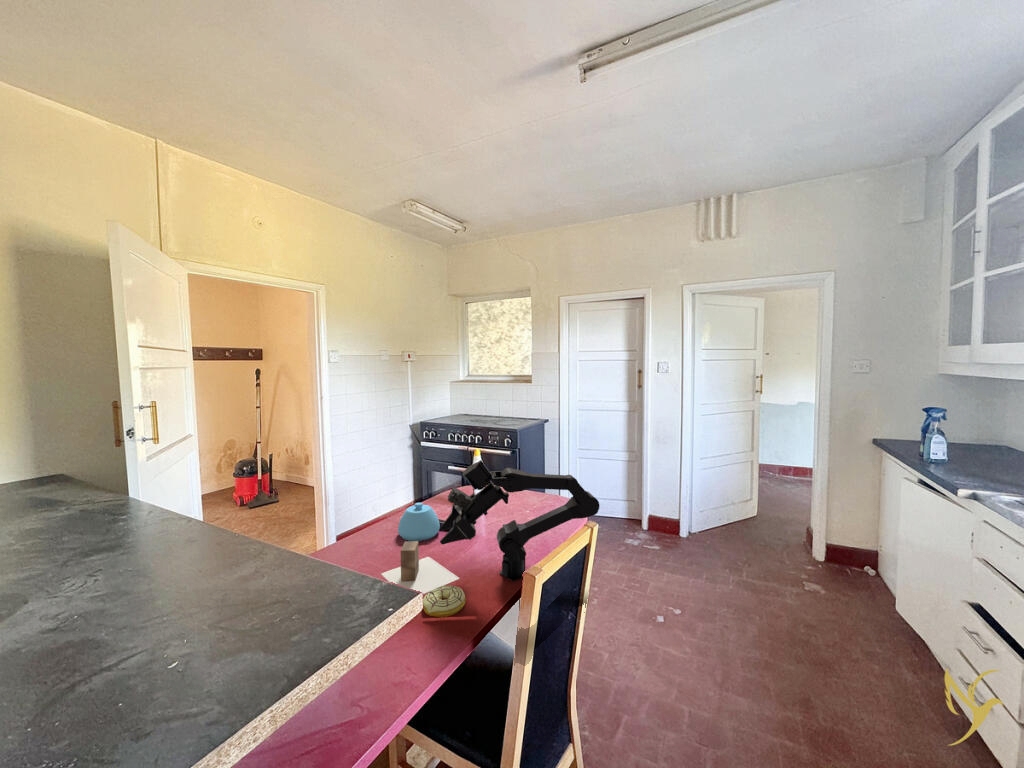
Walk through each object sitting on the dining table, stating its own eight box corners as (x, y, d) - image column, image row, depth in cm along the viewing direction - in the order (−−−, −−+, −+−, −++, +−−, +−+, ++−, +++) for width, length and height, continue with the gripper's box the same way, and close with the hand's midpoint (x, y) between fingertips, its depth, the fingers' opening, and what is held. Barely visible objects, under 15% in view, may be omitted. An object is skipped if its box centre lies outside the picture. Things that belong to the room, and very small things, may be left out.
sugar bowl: (416, 547, 138) (415, 514, 137) (389, 536, 147) (389, 505, 146) (448, 532, 150) (447, 502, 149) (421, 523, 159) (421, 494, 158)
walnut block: (418, 570, 121) (418, 541, 120) (415, 581, 115) (414, 550, 114) (405, 570, 120) (404, 541, 120) (401, 581, 114) (400, 550, 114)
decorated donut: (420, 601, 106) (419, 587, 106) (459, 593, 110) (459, 579, 110) (426, 624, 96) (426, 609, 96) (469, 614, 100) (469, 599, 100)
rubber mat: (428, 558, 129) (428, 556, 129) (459, 580, 116) (459, 578, 116) (380, 575, 119) (380, 573, 119) (409, 602, 105) (409, 600, 105)
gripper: (464, 471, 125) (424, 504, 123) (469, 490, 106) (421, 528, 105) (486, 498, 126) (446, 530, 125) (494, 521, 108) (448, 559, 106)
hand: (440, 536), depth 115 cm, fingers open, 9 cm apart
